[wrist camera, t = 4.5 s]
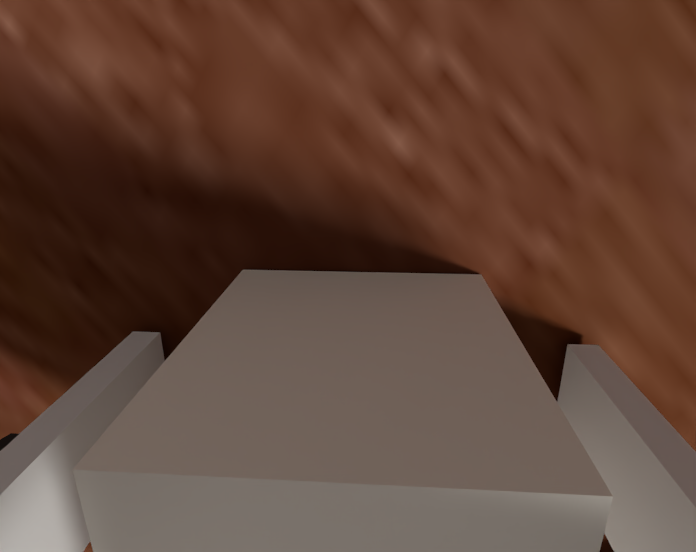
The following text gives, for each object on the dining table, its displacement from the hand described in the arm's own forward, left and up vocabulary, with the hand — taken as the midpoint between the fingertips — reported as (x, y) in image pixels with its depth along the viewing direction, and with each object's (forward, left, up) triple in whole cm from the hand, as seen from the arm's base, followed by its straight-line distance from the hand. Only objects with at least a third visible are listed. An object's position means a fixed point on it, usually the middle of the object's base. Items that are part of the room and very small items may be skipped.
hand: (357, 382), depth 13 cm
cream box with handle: (0, 0, 0) cm, 0 cm away
